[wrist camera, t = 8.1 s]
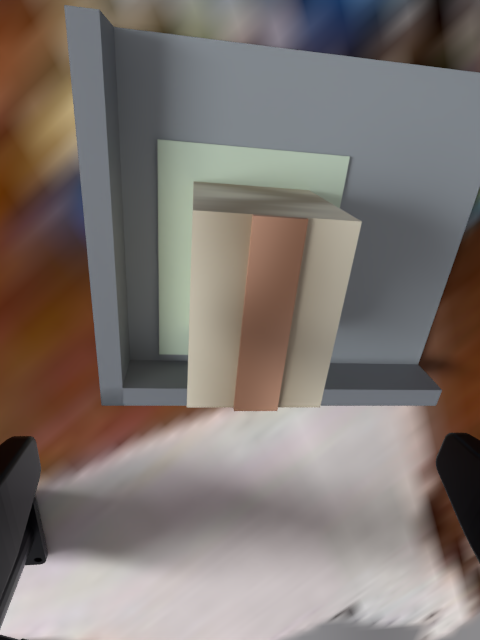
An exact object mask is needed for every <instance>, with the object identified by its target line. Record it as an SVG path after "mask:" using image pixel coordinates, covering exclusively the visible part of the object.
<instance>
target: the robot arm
mask: <svg viewBox="0 0 480 640" xmlns="http://www.w3.org/2000/svg"><path fill="white" fill-rule="evenodd" d="M436 467H437V471H438V473H439V475H440V478H441V480H442V483H443V485H444V487H445V490H446V492H447V494H448V497H449V499H450V501H451V504H452V506H453V509H454V511H455V513H456V516H457V518H458V520H459V523H460V525H461V527H462V529H463V532H464V534H465V536H466V538H467V540H468V542H469V544H470V546H471V548H472V550H473V551H474V553H475V555H476V557H477V559H478V561H479V563H480V440H478V439H476V438H475V437H473V436H471V435H469V434H467V433H449V434H448V435H446V437H445V439H444V441H443V443H442V446H441V448H440V450H439V453H438V455H437V458H436ZM40 472H41V465H40V460H39V455H38V449H37V444H36V440H35V439H34V438H33V437H31V436H14V437H11V438H9V439H7V440H6V441H5V442H3V443H2V444H1V445H0V628H1V626H2V623H3V620H4V618H5V615H6V613H7V610H8V607H9V605H10V602H11V600H12V597H13V594H14V592H15V589H16V587H17V584H18V581H19V579H20V576H21V573H22V571H23V568H24V566H25V565H37V564H43V563H45V561H46V559H47V556H48V552H47V548H46V543H45V538H44V534H43V529H42V525H41V520H40V516H39V511H38V507H37V502H36V499H35V497H34V496H35V492H36V489H37V485H38V482H39V478H40ZM0 640H18V639H14V638H10V637H7V636H3V635H0ZM21 640H27V639H21Z"/></svg>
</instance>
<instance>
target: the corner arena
mask: <svg viewBox="0 0 480 640" xmlns="http://www.w3.org/2000/svg"><path fill="white" fill-rule="evenodd" d="M64 8H65V18H66V29H67V40H68V51H69V61H70V72H71V83H72V93H73V104H74V115H75V125H76V136H77V147H78V158H79V168H80V179H81V190H82V200H83V211H84V222H85V233H86V243H87V254H88V265H89V275H90V286H91V297H92V307H93V318H94V329H95V340H96V350H97V361H98V372H99V382H100V393H101V404H102V405H187V382H188V345H189V310H190V277H191V245H192V212H193V181H195V182H208V183H222V184H235V185H248V186H261V187H274V188H287V189H300V190H310V191H311V192H313V193H315V194H316V195H318V196H320V197H321V198H323V199H325V200H326V201H328V202H330V203H332V204H333V205H335V206H337V207H338V208H340V209H342V210H343V211H345V212H347V213H348V214H350V215H352V216H353V217H355V218H357V219H359V220H360V221H362V224H361V228H360V233H359V237H358V241H357V246H356V250H355V255H354V259H353V264H352V268H351V272H350V277H349V281H348V286H347V290H346V295H345V299H344V303H343V308H342V312H341V317H340V321H339V326H338V330H337V335H336V339H335V343H334V348H333V352H332V357H331V361H330V366H329V370H328V374H327V379H326V383H325V388H324V392H323V397H322V401H321V405H320V406H436V404H437V401H438V399H439V396H440V394H441V391H442V390H441V389H440V388H439V386H438V385H437V384H436V383H435V382H434V381H433V380H432V379H431V378H430V377H429V376H428V375H427V373H426V372H425V371H424V370H423V369H422V368H421V367H420V366H419V365H418V363H419V360H420V358H421V355H422V352H423V349H424V346H425V343H426V340H427V337H428V334H429V332H430V329H431V326H432V323H433V320H434V317H435V314H436V311H437V309H438V306H439V303H440V300H441V297H442V294H443V291H444V288H445V285H446V283H447V280H448V277H449V274H450V271H451V268H452V265H453V262H454V259H455V257H456V254H457V251H458V248H459V245H460V242H461V239H462V236H463V234H464V231H465V228H466V225H467V222H468V219H469V216H470V213H471V210H472V208H473V205H474V202H475V199H476V196H477V193H478V190H479V187H480V73H477V72H469V71H461V70H453V69H445V68H437V67H429V66H421V65H413V64H405V63H397V62H389V61H381V60H373V59H365V58H357V57H349V56H341V55H333V54H325V53H317V52H309V51H301V50H293V49H285V48H277V47H269V46H261V45H253V44H245V43H237V42H229V41H221V40H213V39H205V38H197V37H189V36H181V35H173V34H165V33H157V32H149V31H141V30H133V29H125V28H117V27H113V25H112V24H111V23H110V22H109V21H108V19H107V18H106V17H105V16H104V15H103V14H102V12H101V11H100V10H98V9H90V8H82V7H75V6H67V5H64Z"/></svg>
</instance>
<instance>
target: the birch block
mask: <svg viewBox="0 0 480 640" xmlns="http://www.w3.org/2000/svg"><path fill="white" fill-rule="evenodd" d="M361 224H362V221H360V220H359V219H357V218H355V217H353V216H352V215H350V214H348V213H347V212H345V211H343V210H342V209H340V208H338V207H337V206H335V205H333V204H332V203H330V202H328V201H326V200H325V199H323V198H321V197H320V196H318V195H316V194H315V193H313V192H311V191H310V190H300V189H287V188H274V187H261V186H248V185H235V184H222V183H208V182H195V181H193V212H192V245H191V277H190V310H189V345H188V382H187V407H234V411H277V409H278V407H320V405H321V401H322V397H323V392H324V388H325V383H326V379H327V374H328V370H329V366H330V361H331V357H332V352H333V348H334V343H335V339H336V335H337V330H338V326H339V321H340V317H341V312H342V308H343V303H344V299H345V295H346V290H347V286H348V281H349V277H350V272H351V268H352V264H353V259H354V255H355V250H356V246H357V241H358V237H359V233H360V228H361Z"/></svg>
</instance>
